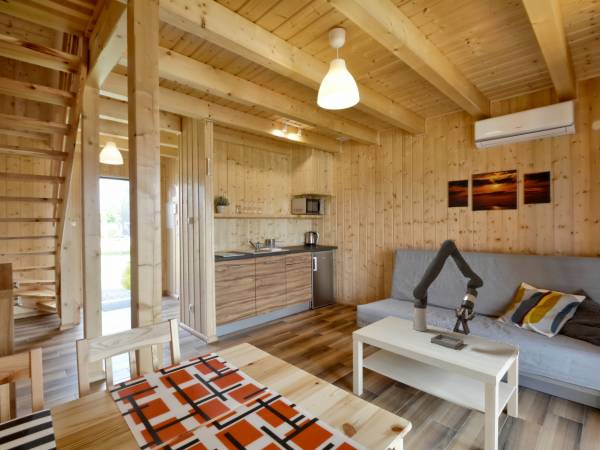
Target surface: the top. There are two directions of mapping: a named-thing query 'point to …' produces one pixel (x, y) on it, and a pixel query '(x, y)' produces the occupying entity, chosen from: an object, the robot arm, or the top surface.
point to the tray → (447, 341)
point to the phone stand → (465, 327)
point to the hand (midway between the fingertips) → (461, 323)
